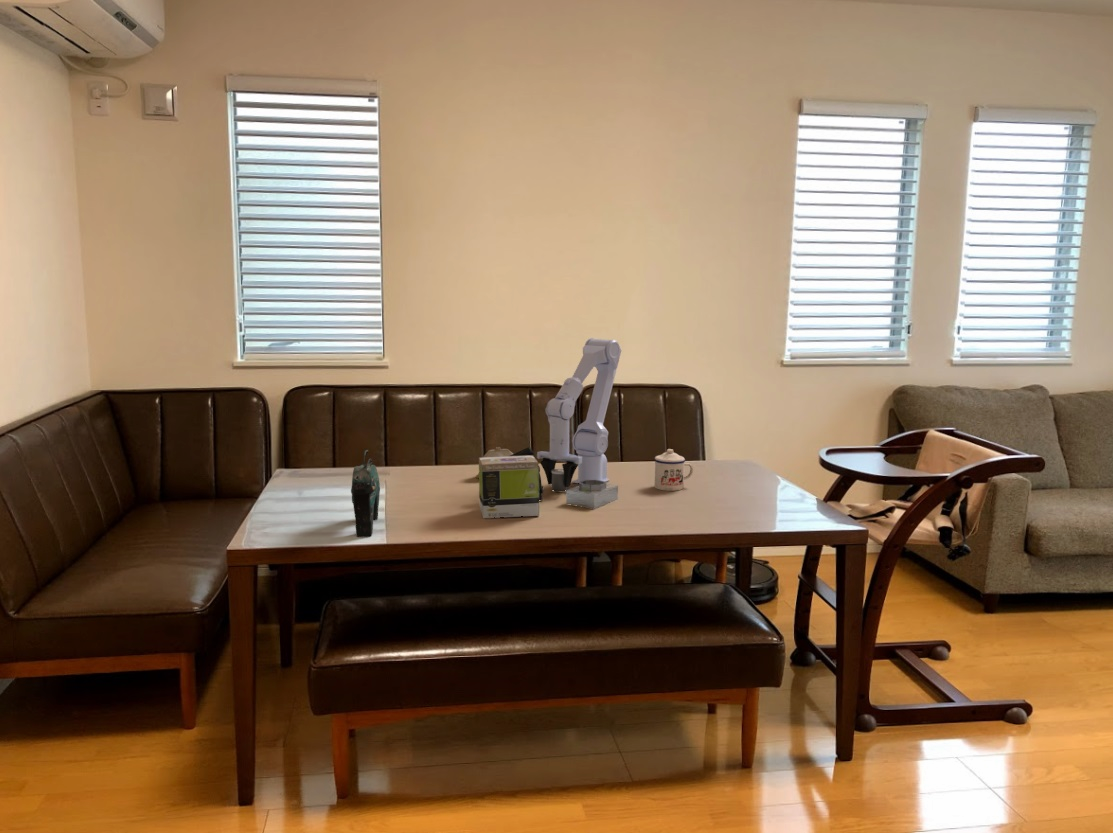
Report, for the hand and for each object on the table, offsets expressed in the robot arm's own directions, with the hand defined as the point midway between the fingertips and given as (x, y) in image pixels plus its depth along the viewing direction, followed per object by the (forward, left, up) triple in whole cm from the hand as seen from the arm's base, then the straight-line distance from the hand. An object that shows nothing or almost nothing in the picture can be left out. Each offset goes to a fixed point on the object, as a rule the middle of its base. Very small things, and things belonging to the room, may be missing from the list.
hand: (559, 485), depth 257 cm
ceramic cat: (+60, -18, -2) cm, 63 cm away
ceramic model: (-3, -24, -2) cm, 25 cm away
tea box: (+29, +3, -2) cm, 29 cm away
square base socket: (+6, +15, -2) cm, 16 cm away
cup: (0, 0, -2) cm, 2 cm away
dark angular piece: (+16, -3, -2) cm, 16 cm away
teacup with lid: (-23, +26, -2) cm, 35 cm away
